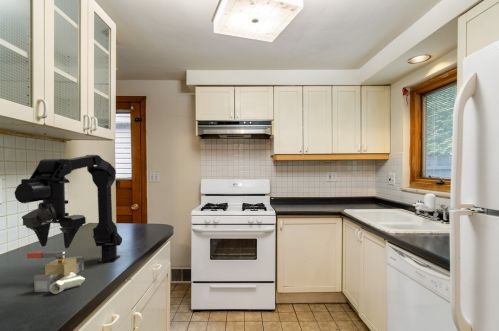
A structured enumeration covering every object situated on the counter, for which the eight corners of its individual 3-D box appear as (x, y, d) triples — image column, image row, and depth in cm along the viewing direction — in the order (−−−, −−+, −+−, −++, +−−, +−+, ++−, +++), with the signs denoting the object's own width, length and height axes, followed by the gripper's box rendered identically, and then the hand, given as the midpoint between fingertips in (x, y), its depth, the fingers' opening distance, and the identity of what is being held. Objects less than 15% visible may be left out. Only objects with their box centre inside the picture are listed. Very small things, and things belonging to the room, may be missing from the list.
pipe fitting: (86, 283, 91) (66, 282, 91) (87, 272, 91) (67, 271, 91) (71, 295, 83) (49, 294, 83) (72, 283, 83) (50, 281, 83)
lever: (68, 255, 95) (68, 250, 95) (62, 258, 92) (62, 253, 92) (33, 255, 95) (32, 250, 95) (25, 259, 92) (25, 253, 92)
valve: (69, 269, 102) (69, 248, 102) (86, 269, 102) (85, 248, 102) (31, 292, 84) (31, 267, 84) (52, 291, 84) (51, 266, 84)
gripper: (3, 201, 79) (4, 253, 79) (53, 202, 75) (55, 258, 75) (40, 196, 90) (41, 242, 90) (86, 197, 85) (87, 245, 86)
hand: (55, 247), depth 85 cm, fingers open, 9 cm apart
